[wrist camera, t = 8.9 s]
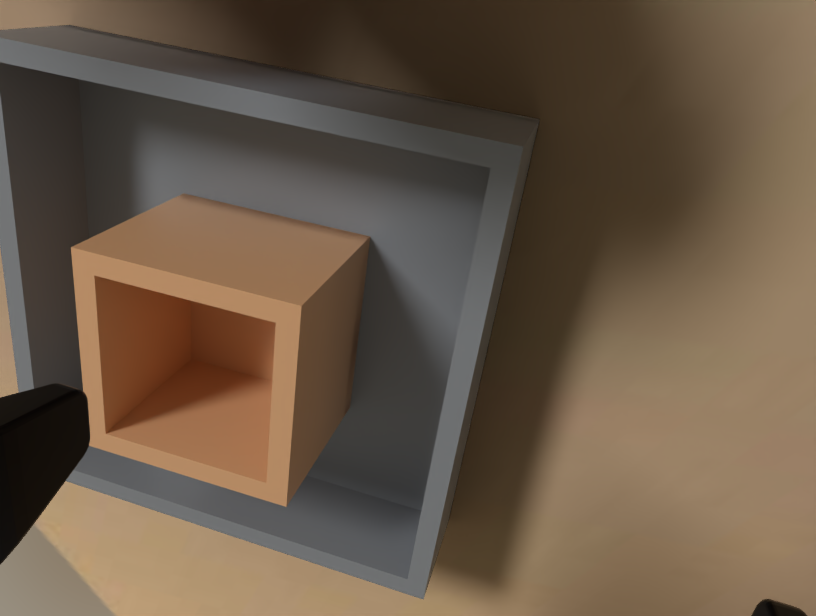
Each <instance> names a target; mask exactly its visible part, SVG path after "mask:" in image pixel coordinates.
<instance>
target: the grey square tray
mask: <svg viewBox="0 0 816 616" xmlns="http://www.w3.org/2000/svg"><path fill="white" fill-rule="evenodd" d="M539 120H540V119H536V118H531V117H526V116H521V115H516V114H511V113H506V112H501V111H496V110H491V109H486V108H481V107H476V106H471V105H466V104H461V103H456V102H451V101H446V100H441V99H436V98H431V97H426V96H421V95H416V94H411V93H406V92H401V91H396V90H391V89H386V88H381V87H376V86H371V85H366V84H361V83H356V82H351V81H346V80H341V79H336V78H331V77H326V76H321V75H316V74H311V73H306V72H301V71H296V70H291V69H286V68H281V67H276V66H271V65H266V64H261V63H256V62H251V61H246V60H241V59H236V58H231V57H227V56H222V55H217V54H212V53H207V52H202V51H197V50H192V49H187V48H182V47H177V46H172V45H167V44H162V43H157V42H152V41H147V40H142V39H137V38H132V37H127V36H122V35H117V34H112V33H107V32H102V31H97V30H92V29H87V28H82V27H77V26H72V25H62V26H49V27H35V28H22V29H8V30H0V248H1V255H2V263H3V271H4V279H5V287H6V295H7V303H8V311H9V319H10V327H11V335H12V343H13V351H14V358H15V366H16V374H17V382H18V390H19V392H23V391H27V390H31V389H34V388H38V387H42V386H45V385H49V384H53V383H60V384H64V385H68V386H71V387H74V388H77V389H80V390H82V391H83V382H82V371H81V359H80V347H79V336H78V324H77V313H76V301H75V289H74V278H73V266H72V255H71V247H73V246H75V245H77V244H79V243H81V242H83V241H85V240H87V239H89V238H91V237H93V236H96V235H98V234H100V233H102V232H104V231H106V230H108V229H110V228H112V227H114V226H116V225H119V224H121V223H123V222H125V221H127V220H129V219H131V218H133V217H135V216H137V215H139V214H141V213H144V212H146V211H148V210H150V209H152V208H154V207H156V206H158V205H160V204H162V203H164V202H167V201H169V200H171V199H173V198H175V197H177V196H179V195H181V194H183V193H184V194H188V195H193V196H197V197H201V198H206V199H210V200H214V201H219V202H223V203H227V204H232V205H236V206H240V207H245V208H249V209H253V210H258V211H262V212H266V213H271V214H275V215H279V216H284V217H288V218H292V219H297V220H301V221H305V222H310V223H314V224H318V225H323V226H327V227H331V228H336V229H340V230H344V231H349V232H353V233H357V234H362V235H366V236H370V244H369V252H368V260H367V269H366V277H365V286H364V294H363V302H362V311H361V319H360V328H359V336H358V344H357V353H356V361H355V369H354V378H353V386H352V395H351V403H350V408H349V410H348V411H347V413H346V414H345V416H344V417H343V419H342V421H341V422H340V424H339V425H338V427H337V428H336V430H335V432H334V433H333V435H332V436H331V438H330V439H329V441H328V443H327V444H326V446H325V447H324V449H323V450H322V452H321V453H320V455H319V457H318V458H317V460H316V461H315V463H314V464H313V466H312V468H311V469H310V471H309V472H308V474H307V475H306V477H305V479H304V480H303V482H302V483H301V485H300V486H299V488H298V489H297V491H296V493H295V494H294V496H293V497H292V499H291V500H290V502H289V504H288V505H287V507H285V506H281V505H278V504H275V503H272V502H269V501H265V500H262V499H259V498H256V497H252V496H249V495H246V494H243V493H240V492H236V491H233V490H230V489H227V488H224V487H220V486H217V485H214V484H211V483H207V482H204V481H201V480H198V479H195V478H191V477H188V476H185V475H182V474H178V473H175V472H172V471H169V470H166V469H162V468H159V467H156V466H153V465H149V464H146V463H143V462H140V461H137V460H133V459H130V458H127V457H124V456H121V455H117V454H114V453H111V452H108V451H104V450H101V449H98V448H95V447H92V446H89V447H88V449H87V451H86V453H85V455H84V457H83V458H82V459H81V461H80V462H79V463H78V465H77V466H76V467H75V469H74V470H73V472H72V473H71V474H70V476H69V477H68V478H67V480H66V481H67V482H70V483H73V484H77V485H80V486H83V487H86V488H89V489H92V490H95V491H98V492H101V493H104V494H107V495H110V496H113V497H116V498H119V499H122V500H125V501H128V502H131V503H134V504H137V505H140V506H143V507H146V508H149V509H152V510H155V511H158V512H161V513H164V514H167V515H170V516H173V517H176V518H179V519H182V520H185V521H188V522H191V523H194V524H197V525H200V526H203V527H206V528H209V529H212V530H215V531H218V532H221V533H224V534H227V535H230V536H233V537H236V538H239V539H242V540H246V541H249V542H252V543H255V544H258V545H261V546H264V547H267V548H270V549H273V550H276V551H279V552H282V553H285V554H288V555H291V556H294V557H297V558H300V559H303V560H306V561H309V562H312V563H315V564H318V565H321V566H324V567H327V568H330V569H333V570H336V571H339V572H342V573H345V574H348V575H351V576H354V577H357V578H360V579H363V580H366V581H369V582H372V583H375V584H378V585H381V586H384V587H387V588H390V589H393V590H396V591H399V592H402V593H405V594H408V595H411V596H414V597H418V598H421V599H424V596H425V593H426V590H427V587H428V584H429V581H430V577H431V574H432V571H433V568H434V565H435V562H436V559H437V556H438V552H439V549H440V546H441V543H442V540H443V537H444V534H445V531H446V527H447V524H448V521H449V516H450V512H451V507H452V503H453V499H454V494H455V490H456V485H457V481H458V477H459V472H460V468H461V463H462V459H463V455H464V450H465V446H466V442H467V437H468V433H469V428H470V424H471V420H472V415H473V411H474V406H475V402H476V398H477V393H478V389H479V384H480V380H481V376H482V371H483V367H484V362H485V358H486V354H487V349H488V345H489V340H490V336H491V332H492V327H493V323H494V318H495V314H496V310H497V305H498V301H499V296H500V292H501V288H502V283H503V279H504V274H505V270H506V266H507V261H508V257H509V252H510V248H511V244H512V239H513V235H514V230H515V226H516V222H517V217H518V213H519V208H520V204H521V200H522V195H523V191H524V186H525V182H526V178H527V173H528V169H529V164H530V160H531V156H532V151H533V147H534V142H535V138H536V134H537V129H538V125H539Z"/></svg>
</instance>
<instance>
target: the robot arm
mask: <svg viewBox="0 0 816 616" xmlns="http://www.w3.org/2000/svg"><path fill="white" fill-rule="evenodd" d="M89 443H90V424H89V410H88V399H87V396H86V394H85V393H84V392H83V391H82V390H80V389H77V388H74V387H71V386H68V385H64V384H60V383H53V384H49V385H45V386H42V387H38V388H34V389H31V390H27V391H23V392H19V393H16V394H12V395H8V396H5V397H1V398H0V564H1V563H2V562H3V561H4V560H5V559H6V558H7V556H8V555H9V554H10V553H11V552H12V551H13V550H14V548H15V547H16V546H17V545H18V544H19V542H20V541H21V540H22V539H23V537H24V536H25V535H26V534H27V532H28V531H29V530H30V528H31V527H32V526H33V524H34V523H35V522H36V520H37V519H38V518H39V516H40V515H41V513H42V512H43V511H44V509H45V508H46V507H47V505H48V504H49V503H50V501H51V500H52V499H53V497H54V496H55V495H56V493H57V492H58V490H59V489H60V488H61V486H62V485H63V484H64V482H65V481H66V480H67V478H68V477H69V476H70V474H71V473H72V472H73V470H74V469H75V467H76V466H77V465H78V463H79V462H80V461H81V459H82V458H83V457H84V455H85V453H86V451H87V449H88V447H89ZM752 616H807V615H806V614H805V613H804V612H803V611H802V610H801V609H799V608H797V607H794V606H791V605H788V604H784V603H781V602H778V601H774V600H771V599H764V600H762V601H761V602H760V603H759V604H758V605H757V606H756V608H755V610H754V612H753V614H752Z"/></svg>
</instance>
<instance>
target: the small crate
mask: <svg viewBox="0 0 816 616" xmlns="http://www.w3.org/2000/svg"><path fill="white" fill-rule="evenodd" d="M369 244H370V236H366V235H362V234H357V233H353V232H349V231H344V230H340V229H336V228H331V227H327V226H323V225H318V224H314V223H310V222H305V221H301V220H297V219H292V218H288V217H284V216H279V215H275V214H271V213H266V212H262V211H258V210H253V209H249V208H245V207H240V206H236V205H232V204H227V203H223V202H219V201H214V200H210V199H206V198H201V197H197V196H193V195H188V194H184V193H183V194H181V195H179V196H177V197H175V198H173V199H171V200H169V201H167V202H164V203H162V204H160V205H158V206H156V207H154V208H152V209H150V210H148V211H146V212H144V213H141V214H139V215H137V216H135V217H133V218H131V219H129V220H127V221H125V222H123V223H121V224H119V225H116V226H114V227H112V228H110V229H108V230H106V231H104V232H102V233H100V234H98V235H96V236H93V237H91V238H89V239H87V240H85V241H83V242H81V243H79V244H77V245H75V246H73V247H71V255H72V266H73V278H74V289H75V301H76V313H77V324H78V336H79V347H80V359H81V371H82V382H83V392H84V393H85V394H86V396H87V399H88V410H89V424H90V443H89V446H92V447H95V448H98V449H101V450H104V451H108V452H111V453H114V454H117V455H121V456H124V457H127V458H130V459H133V460H137V461H140V462H143V463H146V464H149V465H153V466H156V467H159V468H162V469H166V470H169V471H172V472H175V473H178V474H182V475H185V476H188V477H191V478H195V479H198V480H201V481H204V482H207V483H211V484H214V485H217V486H220V487H224V488H227V489H230V490H233V491H236V492H240V493H243V494H246V495H249V496H252V497H256V498H259V499H262V500H265V501H269V502H272V503H275V504H278V505H281V506H285V507H287V505H288V504H289V502H290V500H291V499H292V497H293V496H294V494H295V493H296V491H297V489H298V488H299V486H300V485H301V483H302V482H303V480H304V479H305V477H306V475H307V474H308V472H309V471H310V469H311V468H312V466H313V464H314V463H315V461H316V460H317V458H318V457H319V455H320V453H321V452H322V450H323V449H324V447H325V446H326V444H327V443H328V441H329V439H330V438H331V436H332V435H333V433H334V432H335V430H336V428H337V427H338V425H339V424H340V422H341V421H342V419H343V417H344V416H345V414H346V413H347V411H348V410H349V408H350V403H351V395H352V386H353V378H354V369H355V361H356V353H357V344H358V336H359V328H360V319H361V311H362V302H363V294H364V286H365V277H366V269H367V260H368V252H369Z"/></svg>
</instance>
